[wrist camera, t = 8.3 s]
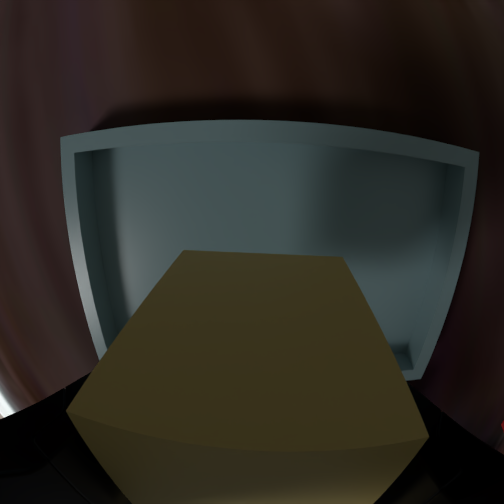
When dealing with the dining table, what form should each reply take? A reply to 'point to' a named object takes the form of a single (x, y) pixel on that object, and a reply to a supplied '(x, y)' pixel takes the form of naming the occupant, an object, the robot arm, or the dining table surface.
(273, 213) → the tray
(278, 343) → the block
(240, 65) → the dining table surface
